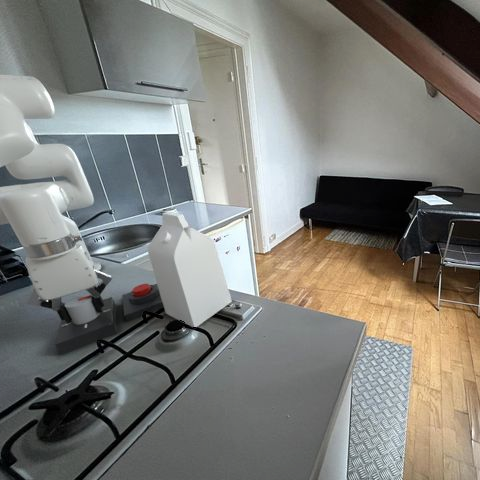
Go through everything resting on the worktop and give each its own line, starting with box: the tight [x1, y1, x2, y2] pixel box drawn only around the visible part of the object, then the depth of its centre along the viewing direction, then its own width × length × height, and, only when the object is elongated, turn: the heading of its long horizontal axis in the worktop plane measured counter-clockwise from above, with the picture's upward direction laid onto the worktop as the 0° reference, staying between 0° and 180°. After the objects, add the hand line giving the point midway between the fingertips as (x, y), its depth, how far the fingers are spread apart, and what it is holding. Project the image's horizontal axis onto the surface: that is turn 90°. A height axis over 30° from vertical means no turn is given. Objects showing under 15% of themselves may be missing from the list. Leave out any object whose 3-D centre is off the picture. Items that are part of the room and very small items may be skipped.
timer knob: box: [64, 294, 100, 325], centre depth 62 cm, size 5×5×5 cm
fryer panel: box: [54, 296, 118, 356], centre depth 64 cm, size 14×10×3 cm
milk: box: [147, 211, 233, 328], centre depth 64 cm, size 12×12×26 cm
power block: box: [121, 283, 164, 322], centre depth 72 cm, size 12×10×4 cm
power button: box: [132, 283, 151, 297], centre depth 71 cm, size 4×4×2 cm
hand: (85, 314), depth 63 cm, fingers closed on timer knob, 5 cm apart
